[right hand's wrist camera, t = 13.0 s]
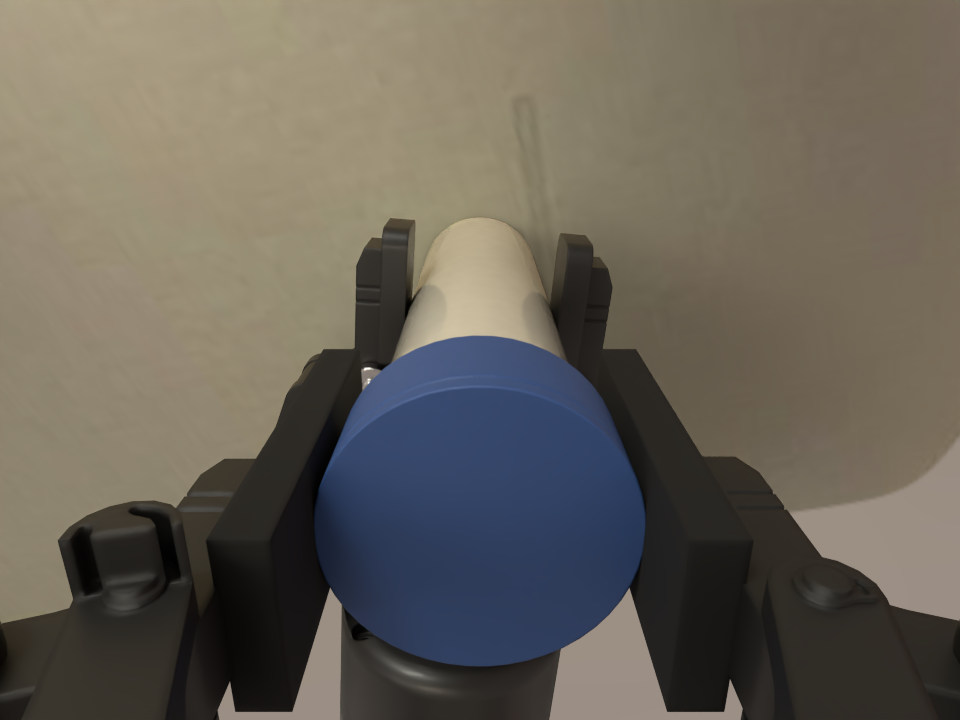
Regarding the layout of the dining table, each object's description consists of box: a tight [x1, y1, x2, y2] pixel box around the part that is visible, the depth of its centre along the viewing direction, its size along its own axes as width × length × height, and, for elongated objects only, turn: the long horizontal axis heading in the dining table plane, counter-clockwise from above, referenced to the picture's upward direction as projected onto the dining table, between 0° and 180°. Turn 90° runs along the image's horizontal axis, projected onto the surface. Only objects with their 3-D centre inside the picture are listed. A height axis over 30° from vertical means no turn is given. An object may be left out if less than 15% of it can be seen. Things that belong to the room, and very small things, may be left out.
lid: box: [314, 335, 646, 666], centre depth 11 cm, size 5×5×2 cm
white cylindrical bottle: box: [391, 217, 568, 363], centre depth 18 cm, size 4×4×16 cm
